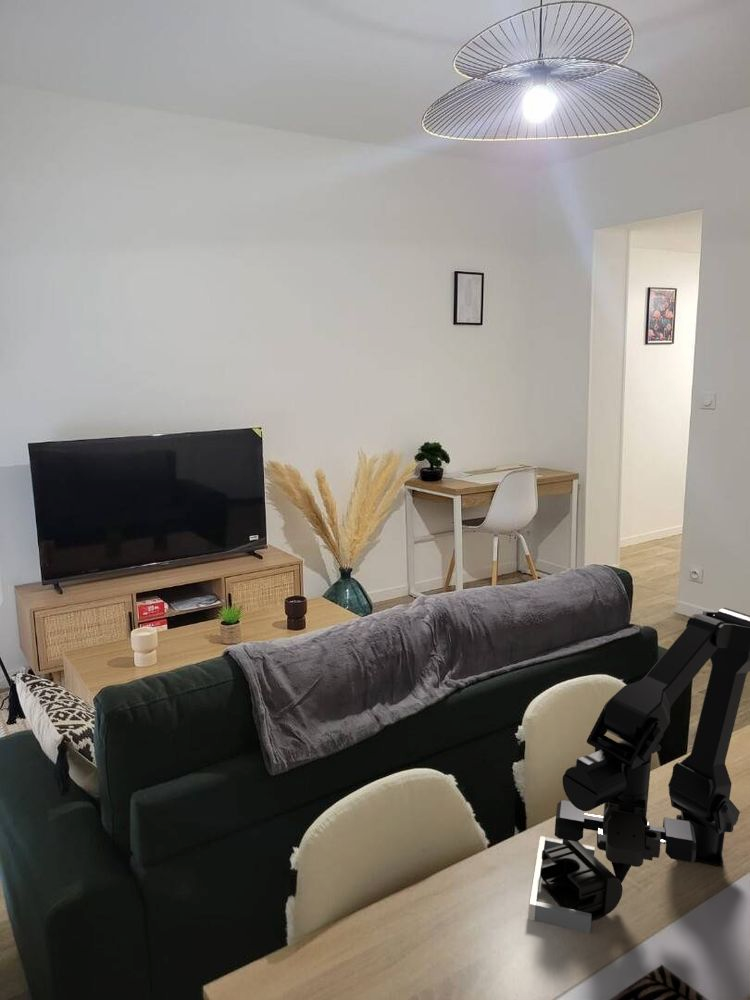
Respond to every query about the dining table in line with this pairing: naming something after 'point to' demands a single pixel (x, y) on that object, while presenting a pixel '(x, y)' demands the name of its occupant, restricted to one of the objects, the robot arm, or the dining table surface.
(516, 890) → the dining table surface
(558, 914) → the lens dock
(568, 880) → the end cap
